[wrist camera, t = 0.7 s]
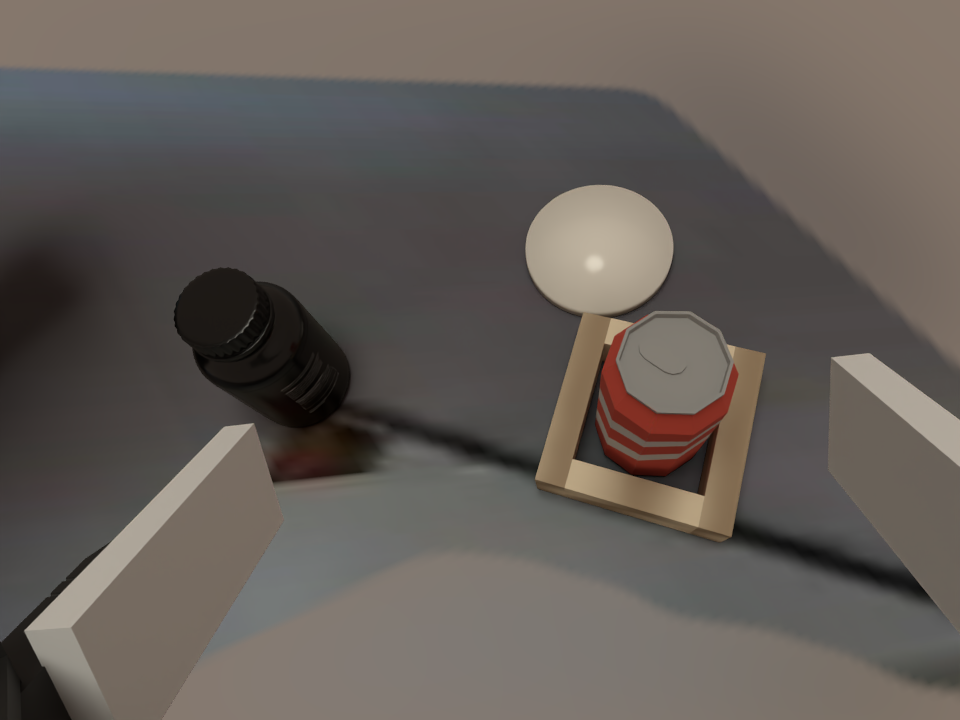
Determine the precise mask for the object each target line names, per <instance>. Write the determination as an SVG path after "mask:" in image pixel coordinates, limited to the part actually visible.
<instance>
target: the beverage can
mask: <svg viewBox="0 0 960 720" xmlns="http://www.w3.org/2000/svg"><path fill="white" fill-rule="evenodd" d="M738 376H739V373H738V371H737V369H736V366H735V364H734V361H733V358H732V356H731V354H730V351H729V349H728V347H727V344H726V342H725V340H724V337H723V335H722V333H721V330H719V329H717V328H716V327H714V326H713V325H711V324H709V323H708V322H706V321H705V320H703V319H701V318H700V317H698V316H697V315H695V314H693V313H692V312H690V311H654V312H653V313H651V314H649V315H646V316H645V317H643V318H642V319H640V320H638V321H637V322H635V323H634V324H632V325H631V326H629V327H627V328H626V329H624V330H623V331H621V332H620V333H618V334H617V335H615V336H614V338H613V341H612V344H611V347H610V350H609V352H608V355H607V358H606V361H605V363H604V366H603V369H602V373H601V381H600V389H599V397H598V405H597V413H596V421H595V426H596V429H597V432H598V435H599V438H600V441H601V444H602V447H603V450H604V453H605V455H606V456H607V457H609V458H610V459H611V460H613V461H614V462H616V463H617V464H618V465H620V466H621V467H622V468H624V469H625V470H626V471H628V472H629V473H630V474H632V475H652V476H666V475H668V474H669V473H671V472H672V471H674V470H675V469H677V468H678V467H680V466H681V465H683V464H684V463H686V462H687V461H689V460H690V459H692V458H693V457H694V455H695V454H696V453H697V451H698V450H699V449H700V447H701V446H702V445H703V444H704V442H705V441H706V440H707V438H708V437H709V436H710V434H711V433H712V432H713V431H714V429H715V428H716V427H717V425H718V424H719V423H720V422H721V420H722V419H723V418H724V416H725V415H726V414H727V412H728V410H729V406H730V403H731V400H732V396H733V393H734V389H735V386H736V382H737V379H738Z"/></svg>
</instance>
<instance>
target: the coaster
mask: <svg viewBox="0 0 960 720" xmlns="http://www.w3.org/2000/svg"><path fill="white" fill-rule="evenodd" d="M672 257H673V238H672V234H671V230H670V227H669V225H668V223H667V221H666V219H665V218H664V216H663V215H662V213H661V212H660V211H659V210H658V209H657V207H656V206H654V205H653V204H652V203H651V202H650V201H649V200H647V199H646V198H644V197H643V196H641V195H639V194H637V193H635V192H633V191H630V190H628V189H625V188H621V187H617V186H609V185H591V186H585V187H580V188H576V189H573V190H570V191H568V192H566V193H563V194H561V195H560V196H558V197H556V198H554V199H553V200H552V201H551V202H549V203H548V204H547V205H546V206H545V207H544V208H543V209H542V210H541V211H540V212H539V213H538V215H537V216H536V217H535V219H534V221H533V222H532V224H531V227H530V229H529V231H528V235H527V239H526V261H527V267H528V271H529V274H530V277H531V279H532V281H533V283H534V285H535V287H536V288H537V289H538V291H539V292H540V293H541V294H542V295H543V296H544V297H545V298H546V299H547V300H548V301H549V302H550V303H552V304H553V305H554V306H556V307H558V308H559V309H561V310H563V311H566V312H568V313H570V314H574V315H577V316H581V317H582V316H583V312H586V313H591V314H595V315H599V316H604V317H608V318H609V317H615V316H619V315H622V314H626V313H628V312H631V311H633V310H635V309H637V308H639V307H640V306H642V305H644V304H645V303H646V302H647V301H649V300H650V299H651V298H652V297H653V296H654V295H655V294H656V293H657V292H658V291H659V289H660V288H661V286H662V285H663V283H664V281H665V279H666V277H667V275H668V272H669V269H670V265H671V262H672Z"/></svg>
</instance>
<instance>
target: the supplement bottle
mask: <svg viewBox="0 0 960 720" xmlns="http://www.w3.org/2000/svg"><path fill="white" fill-rule="evenodd" d="M174 313H175V316H174V321H175V327H176V328H177V332H178V334H179V335H180V336H181V338H182V340H183V341H185V342H186V343H187V344H189V345H190V346H191V347H192V350H193V355H194V359H195V362H196V364H197V366H198V368H199V370H200V371H201V373H202V374H203V375H204V376H205V377H206V378H207V379H208V380H209V381H210V382H212V383H213V384H214V385H216V386H217V387H219V388H220V389H222V390H224V391H225V392H227V393H228V394H230V395H232V396H233V397H235V398H236V399H238V400H239V401H241V402H243V403H244V404H246V405H247V406H249V407H251V408H252V409H254V410H255V411H257V412H259V413H260V414H262V415H263V416H265V417H267V418H268V419H270V420H272V421H274V422H276V423H278V424H281V425H284V426H289V427H301V426H307V425H310V424H313V423H316V422H318V421H320V420H322V419H323V418H325V417H326V416H328V415H329V414H330V413H331V412H332V411H333V410H334V409H335V408H336V407H337V406H338V405H339V403H340V402H341V400H342V399H343V397H344V395H345V392H346V390H347V387H348V382H349V366H348V362H347V359H346V356H345V354H344V353H343V351H342V349H341V348H340V347H339V346H338V344H337V343H336V342H335V341H334V340H333V339H332V337H331V336H330V335H329V334H328V333H327V332H326V331H325V330H324V329H323V327H322V326H321V325H320V324H319V323H318V322H317V321H316V320H315V319H314V317H313V316H312V315H311V314H310V313H309V312H308V311H307V310H306V309H305V308H304V306H303V305H302V304H301V303H300V302H299V301H298V300H297V299H296V298H295V297H294V296H293V295H292V294H291V293H290V292H288V291H287V290H285V289H284V288H282V287H280V286H278V285H275V284H272V283H268V282H255V281H254V280H253V279H252V278H251V277H250V276H248V275H247V274H246V273H245V272H242V271H239V270H238V269H231V268H229V267H228V268H218V269H212V270H210V271H209V272H204V273H203V274H202V275H200V276H197V277H196V278H195V280H193V281H191V282H190V283H189V285H188V286H187V287H185V288H184V290H183V292H182V293H181V294H180V295H179V300H178V301H177V302H176V308H175V310H174Z"/></svg>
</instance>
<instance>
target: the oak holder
mask: <svg viewBox="0 0 960 720" xmlns="http://www.w3.org/2000/svg"><path fill="white" fill-rule="evenodd" d="M632 324H634V323H630V322H626V321H621V320H617V319H613V318H608V317H604V316H599V315H595V314H591V313H586V312H583V316H582V319H581V323H580V326H579V330H578V333H577V336H576V340H575V343H574V347H573V350H572V354H571V357H570V361H569V364H568V367H567V371H566V374H565V378H564V381H563V385H562V388H561V392H560V395H559V398H558V402H557V405H556V409H555V412H554V416H553V419H552V423H551V426H550V429H549V433H548V436H547V440H546V443H545V447H544V450H543V454H542V457H541V460H540V464H539V467H538V471H537V474H536V478H535V481H536V485H537V489H540V490H544V491H547V492H551V493H554V494H557V495H561V496H564V497H568V498H571V499H574V500H578V501H581V502H584V503H588V504H591V505H595V506H598V507H601V508H605V509H608V510H611V511H615V512H618V513H622V514H625V515H628V516H632V517H635V518H638V519H642V520H645V521H649V522H652V523H655V524H659V525H662V526H665V527H669V528H672V529H676V530H679V531H682V532H686V533H689V534H692V535H696V536H699V537H703V538H706V539H709V540H713V541H716V542H722V541H724V540H726V539H728V538H730V537H731V536H732V531H733V526H734V520H735V515H736V510H737V504H738V499H739V494H740V489H741V483H742V478H743V473H744V467H745V462H746V457H747V451H748V446H749V441H750V435H751V430H752V425H753V420H754V414H755V409H756V404H757V398H758V393H759V388H760V382H761V377H762V372H763V367H764V361H765V356H766V354H765V353H761V352H757V351H752V350H748V349H743V348H739V347H735V346H730V345H727V347H728V349H729V351H730V354H731V356H732V358H733V361H734V364H735V366H736V369H737V371H738V373H739V376H738V379H737V382H736V386H735V389H734V393H733V396H732V400H731V403H730V406H729V410H728V412H727V414H726V415H725V416H724V418H723V419H722V420H721V422H720V423H719V424H718V425H717V427H716V428H715V429H714V431H713V432H712V433H711V434H710V436H709V441H708V446H707V451H706V455H705V460H704V465H703V470H702V475H701V479H700V484H699V489H698V494H695V493H691V492H688V491H684V490H681V489H677V488H674V487H670V486H667V485H663V484H660V483H656V482H652V481H649V480H645V479H642V478H638V477H635V476H631V475H628V474H624V473H621V472H617V471H613V470H610V469H606V468H603V467H599V466H596V465H592V464H589V463H585V462H582V461H578V460H575V458H576V455H577V451H578V447H579V444H580V440H581V436H582V433H583V429H584V425H585V422H586V418H587V414H588V411H589V407H590V403H591V400H592V396H593V392H594V389H595V385H596V381H597V378H598V374H599V370H600V367H601V363H602V361H606V358H607V355H608V352H609V350H610V347H611V344H612V341H613V338H614V336H615V335H617V334H618V333H620V332H621V331H623V330H624V329H626V328H627V327H629V326H631V325H632Z"/></svg>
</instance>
